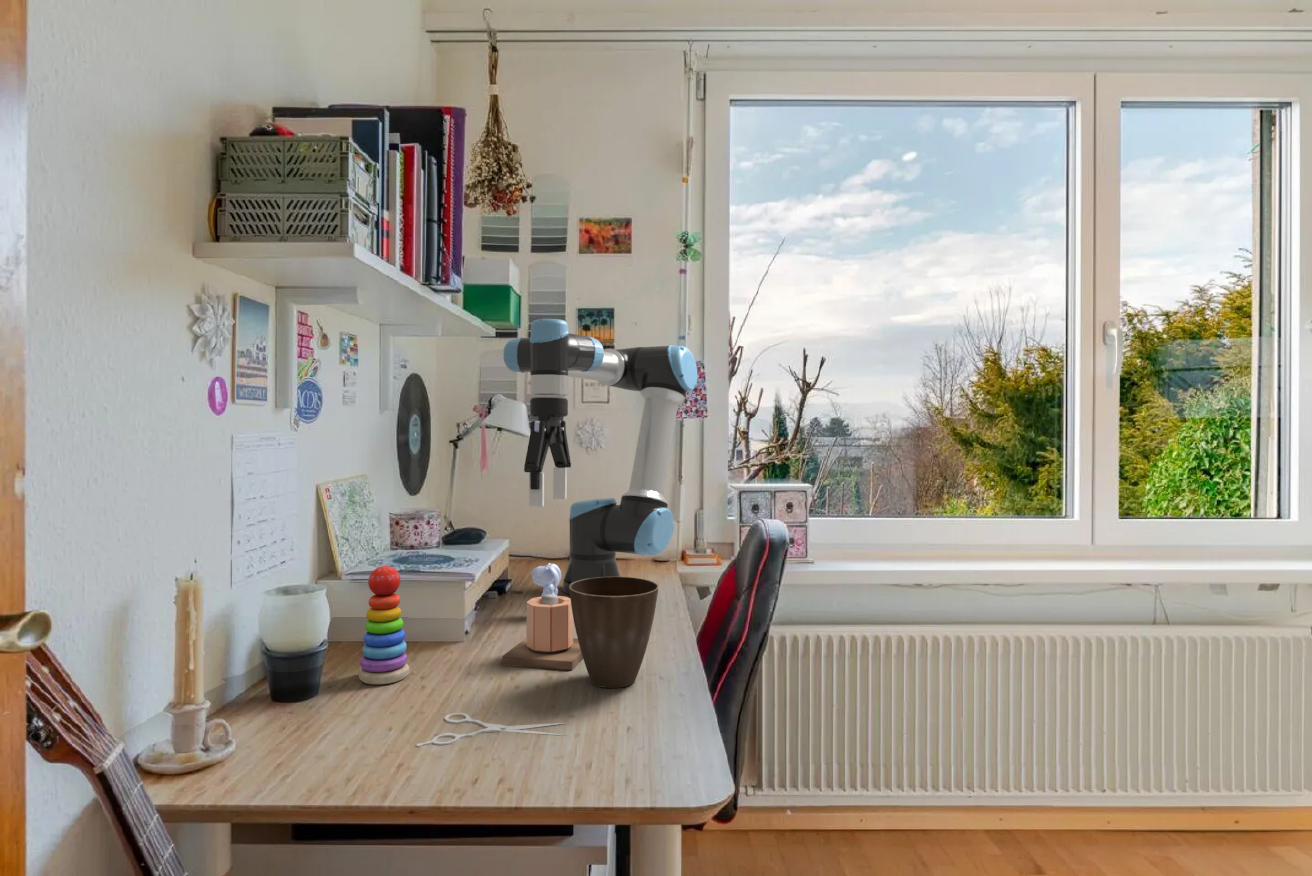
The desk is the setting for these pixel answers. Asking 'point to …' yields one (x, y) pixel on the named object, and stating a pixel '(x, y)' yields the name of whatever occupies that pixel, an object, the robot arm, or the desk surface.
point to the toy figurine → (547, 578)
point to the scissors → (487, 729)
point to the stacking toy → (384, 631)
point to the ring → (549, 625)
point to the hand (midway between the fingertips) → (548, 502)
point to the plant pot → (613, 626)
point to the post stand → (544, 659)
